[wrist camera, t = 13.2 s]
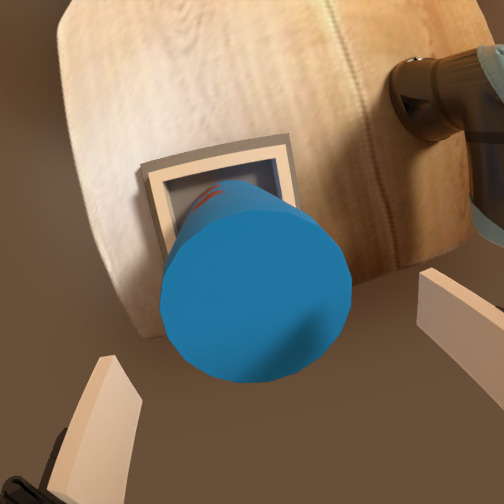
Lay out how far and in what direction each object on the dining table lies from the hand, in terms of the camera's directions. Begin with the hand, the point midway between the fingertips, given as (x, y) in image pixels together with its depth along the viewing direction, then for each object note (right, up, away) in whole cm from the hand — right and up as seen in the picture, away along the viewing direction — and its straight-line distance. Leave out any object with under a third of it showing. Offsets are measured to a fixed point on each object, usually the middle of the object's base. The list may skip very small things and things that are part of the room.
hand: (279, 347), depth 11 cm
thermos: (-4, +8, +28) cm, 29 cm away
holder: (-4, +8, +29) cm, 31 cm away
